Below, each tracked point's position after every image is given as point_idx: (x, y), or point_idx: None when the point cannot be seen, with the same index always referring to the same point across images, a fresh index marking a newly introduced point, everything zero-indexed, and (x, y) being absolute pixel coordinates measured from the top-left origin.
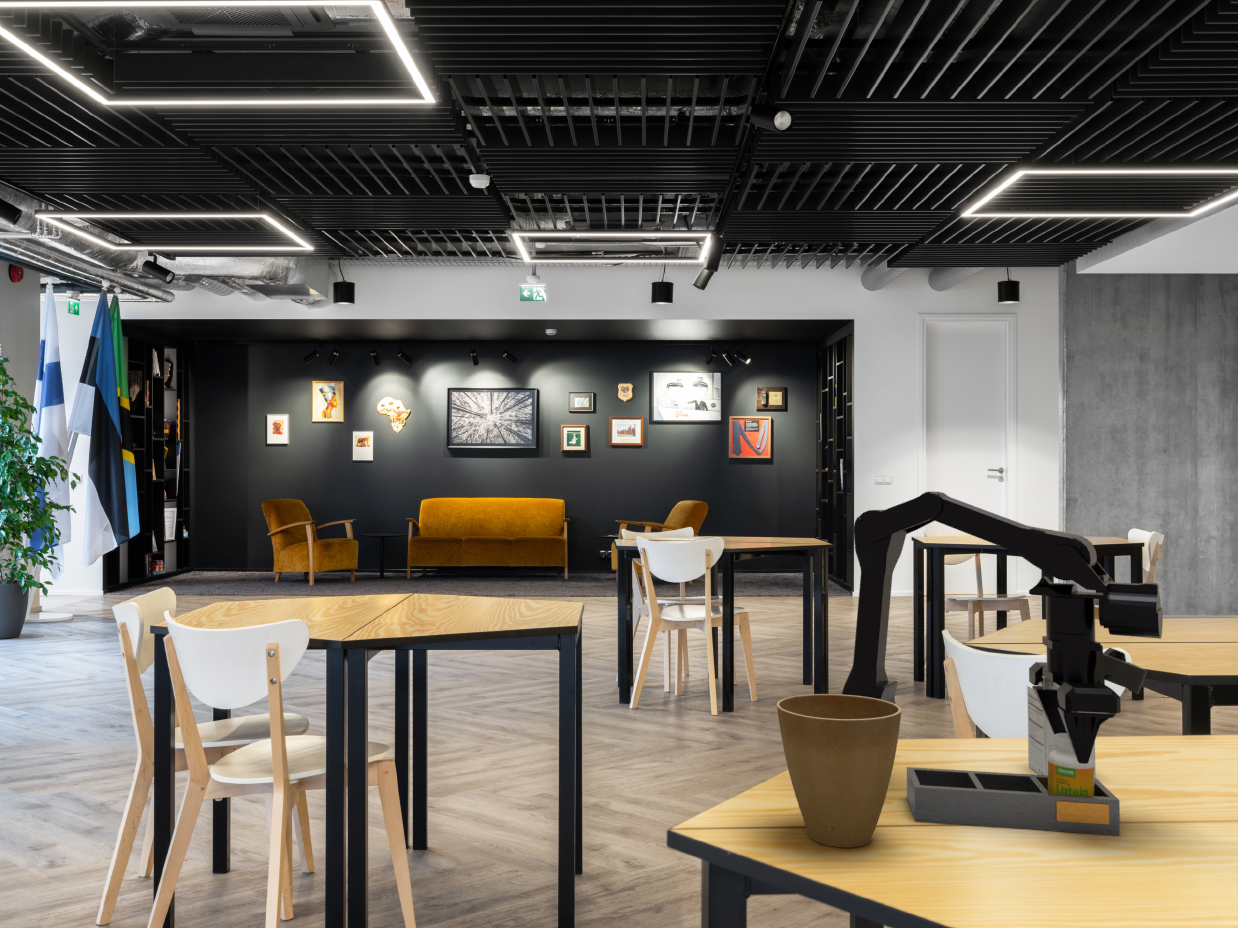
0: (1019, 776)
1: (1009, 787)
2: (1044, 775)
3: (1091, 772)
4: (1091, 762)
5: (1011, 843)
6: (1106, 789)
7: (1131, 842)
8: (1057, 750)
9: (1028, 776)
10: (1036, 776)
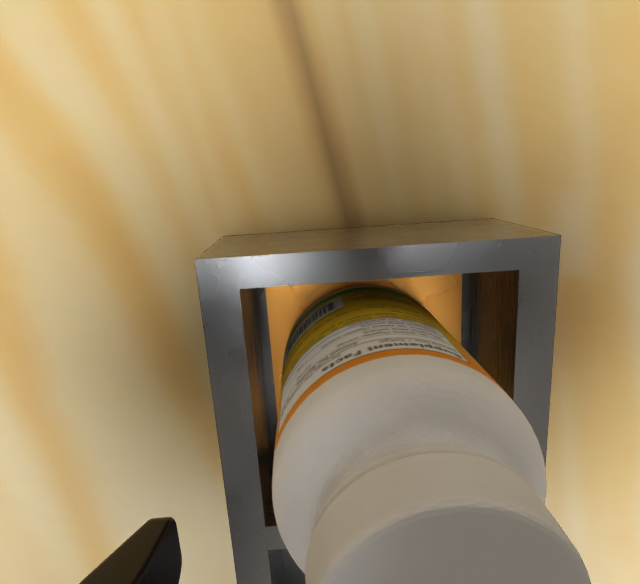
0: (271, 580)
1: (277, 572)
2: (230, 488)
3: (486, 373)
4: (502, 398)
5: (613, 544)
6: (393, 254)
7: (556, 195)
8: None
9: (267, 550)
10: (257, 521)
